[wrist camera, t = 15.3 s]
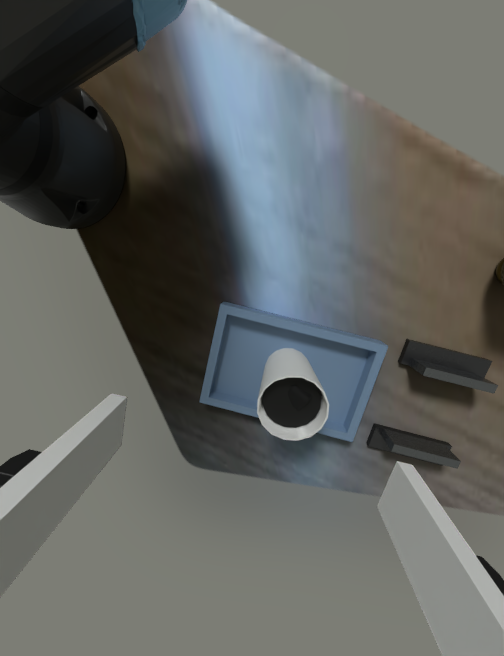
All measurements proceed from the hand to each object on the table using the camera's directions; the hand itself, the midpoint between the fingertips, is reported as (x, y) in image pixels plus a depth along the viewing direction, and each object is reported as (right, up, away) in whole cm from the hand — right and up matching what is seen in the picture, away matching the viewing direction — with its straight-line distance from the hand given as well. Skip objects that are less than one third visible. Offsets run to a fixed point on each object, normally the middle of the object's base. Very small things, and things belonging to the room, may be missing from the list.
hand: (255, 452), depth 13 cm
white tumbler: (+4, +1, +22) cm, 23 cm away
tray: (+4, +1, +22) cm, 23 cm away
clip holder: (+22, -4, +22) cm, 31 cm away
